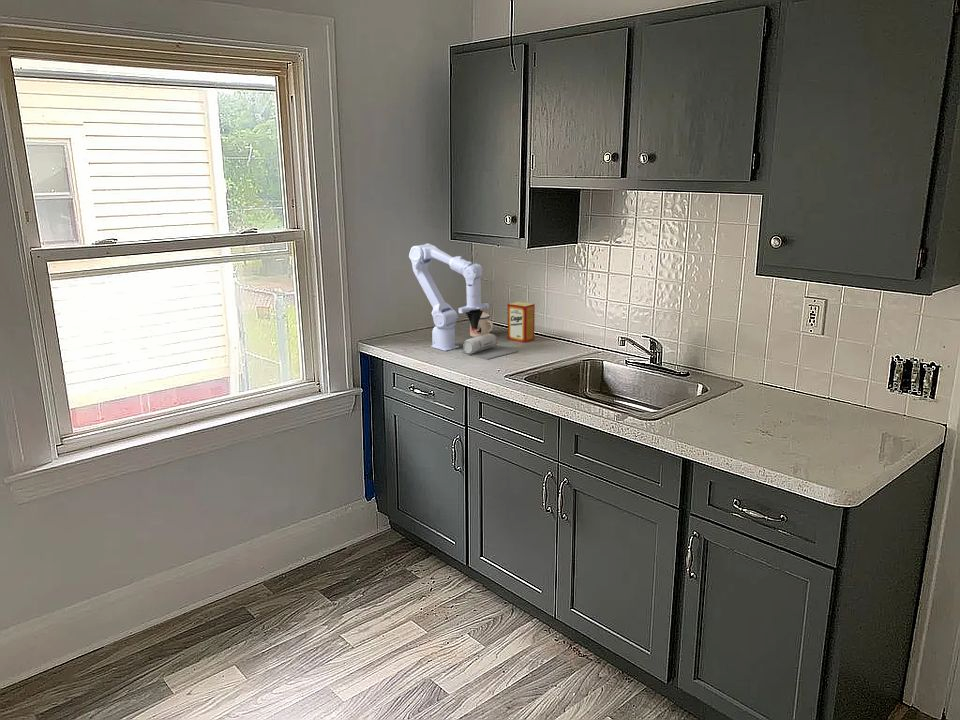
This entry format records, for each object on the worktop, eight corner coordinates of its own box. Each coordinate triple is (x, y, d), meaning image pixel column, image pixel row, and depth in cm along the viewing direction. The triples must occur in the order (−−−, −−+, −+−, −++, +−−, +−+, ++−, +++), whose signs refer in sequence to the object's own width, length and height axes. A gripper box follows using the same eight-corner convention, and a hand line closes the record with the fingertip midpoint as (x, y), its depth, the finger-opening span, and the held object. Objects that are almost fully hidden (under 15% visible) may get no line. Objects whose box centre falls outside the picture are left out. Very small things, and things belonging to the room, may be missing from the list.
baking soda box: (507, 339, 321) (507, 303, 316) (516, 336, 326) (516, 300, 321) (525, 342, 315) (525, 305, 311) (534, 339, 320) (534, 303, 315)
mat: (462, 352, 300) (462, 351, 300) (492, 345, 311) (492, 344, 311) (487, 359, 289) (487, 358, 289) (518, 351, 300) (518, 350, 300)
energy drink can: (474, 344, 292) (500, 337, 303) (464, 336, 295) (489, 330, 306) (470, 357, 295) (496, 349, 306) (460, 349, 298) (486, 342, 309)
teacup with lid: (465, 335, 328) (464, 309, 325) (478, 331, 335) (478, 306, 332) (486, 339, 321) (486, 313, 318) (499, 335, 327) (499, 309, 324)
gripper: (466, 298, 287) (467, 332, 291) (493, 293, 296) (494, 326, 300) (454, 296, 292) (455, 330, 296) (482, 291, 302) (482, 324, 305)
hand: (474, 328), depth 298 cm, fingers closed
